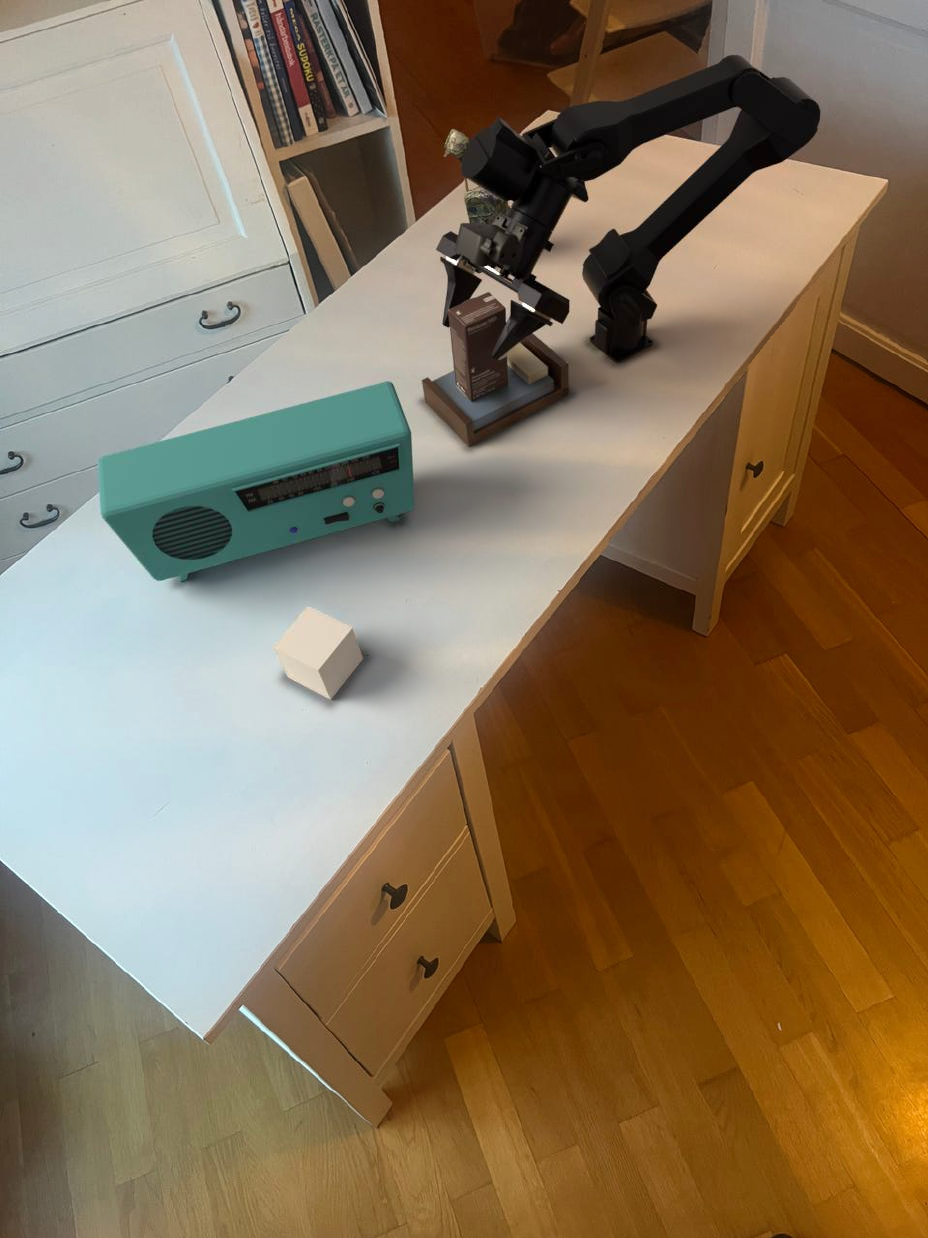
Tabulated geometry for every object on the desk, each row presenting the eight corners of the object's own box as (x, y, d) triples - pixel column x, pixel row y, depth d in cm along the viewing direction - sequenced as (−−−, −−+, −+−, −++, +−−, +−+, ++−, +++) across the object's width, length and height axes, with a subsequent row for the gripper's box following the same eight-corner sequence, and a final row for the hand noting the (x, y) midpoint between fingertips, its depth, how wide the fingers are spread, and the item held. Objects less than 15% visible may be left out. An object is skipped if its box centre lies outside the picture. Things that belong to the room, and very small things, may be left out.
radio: (153, 606, 104) (98, 521, 92) (147, 542, 110) (95, 455, 98) (430, 528, 107) (413, 436, 95) (410, 470, 113) (391, 376, 101)
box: (472, 404, 114) (464, 326, 104) (454, 386, 117) (444, 307, 107) (511, 385, 116) (507, 306, 106) (493, 367, 118) (487, 288, 108)
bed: (521, 353, 124) (520, 322, 120) (568, 394, 118) (568, 363, 114) (425, 402, 120) (420, 371, 116) (468, 447, 115) (465, 416, 110)
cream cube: (330, 700, 94) (317, 670, 90) (287, 677, 97) (272, 647, 92) (363, 658, 97) (352, 627, 92) (320, 636, 99) (307, 605, 94)
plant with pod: (500, 280, 135) (491, 148, 118) (441, 259, 139) (424, 129, 123) (529, 252, 138) (525, 120, 122) (471, 233, 143) (459, 103, 126)
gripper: (438, 164, 102) (379, 291, 108) (551, 224, 93) (480, 360, 99) (493, 201, 111) (436, 317, 117) (601, 259, 102) (534, 381, 107)
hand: (469, 341), depth 110 cm, fingers open, 9 cm apart
